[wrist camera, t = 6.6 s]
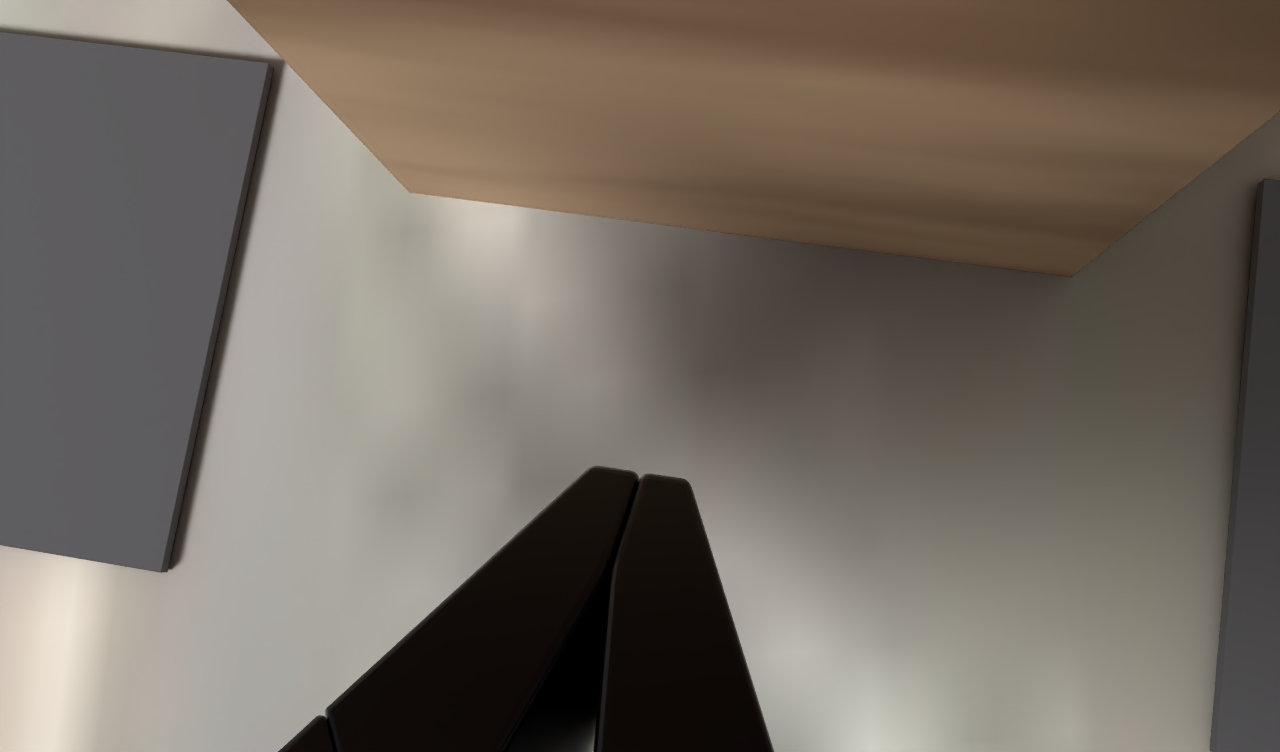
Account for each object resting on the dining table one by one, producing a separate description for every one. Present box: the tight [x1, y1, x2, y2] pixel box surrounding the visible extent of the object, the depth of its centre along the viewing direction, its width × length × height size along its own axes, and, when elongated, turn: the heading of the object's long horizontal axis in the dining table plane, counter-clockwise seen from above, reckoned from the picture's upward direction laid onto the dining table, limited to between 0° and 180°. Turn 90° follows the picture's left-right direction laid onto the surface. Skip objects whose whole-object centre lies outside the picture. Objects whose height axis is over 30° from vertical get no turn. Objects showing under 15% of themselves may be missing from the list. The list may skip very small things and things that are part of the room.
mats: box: [0, 32, 1280, 752], centre depth 16 cm, size 8×25×1 cm, turn 81°
